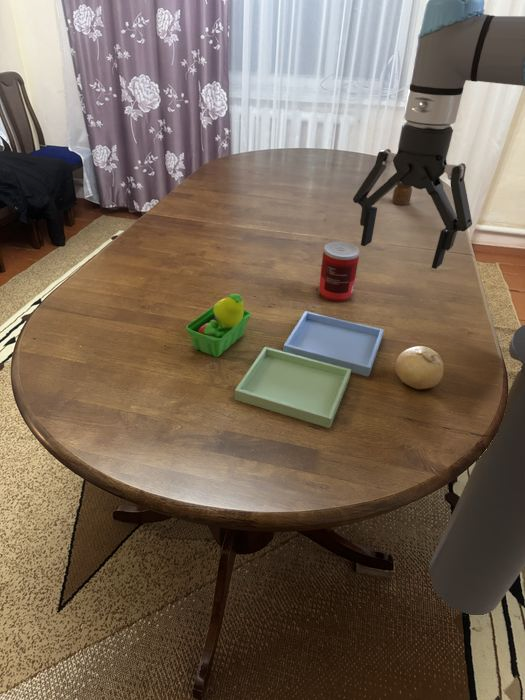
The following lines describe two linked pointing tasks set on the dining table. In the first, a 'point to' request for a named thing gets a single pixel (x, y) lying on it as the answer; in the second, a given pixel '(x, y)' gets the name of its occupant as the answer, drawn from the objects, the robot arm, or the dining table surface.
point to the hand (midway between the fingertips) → (399, 254)
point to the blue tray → (335, 342)
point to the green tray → (294, 386)
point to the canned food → (338, 271)
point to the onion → (420, 367)
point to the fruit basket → (219, 326)
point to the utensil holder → (402, 194)
